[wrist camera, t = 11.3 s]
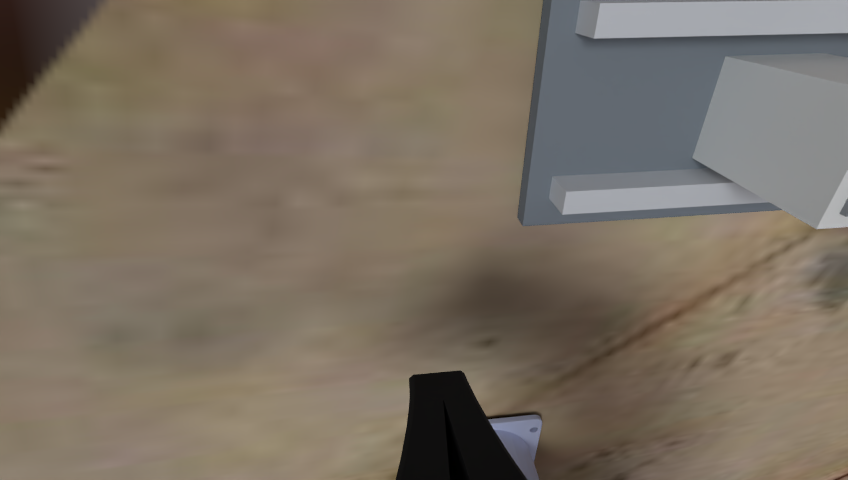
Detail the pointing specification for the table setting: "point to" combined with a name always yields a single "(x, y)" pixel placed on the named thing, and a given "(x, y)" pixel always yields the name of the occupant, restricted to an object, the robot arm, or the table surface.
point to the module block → (783, 132)
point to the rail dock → (647, 101)
